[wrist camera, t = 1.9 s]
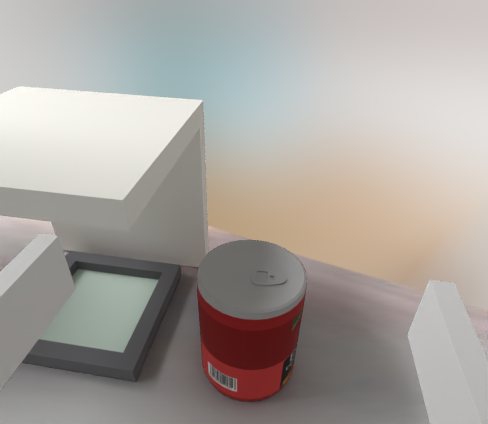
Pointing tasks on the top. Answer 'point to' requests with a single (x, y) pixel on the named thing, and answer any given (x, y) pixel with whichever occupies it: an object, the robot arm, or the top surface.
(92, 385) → the top surface
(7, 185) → the shelf
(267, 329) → the canned food
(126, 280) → the grey picture frame
